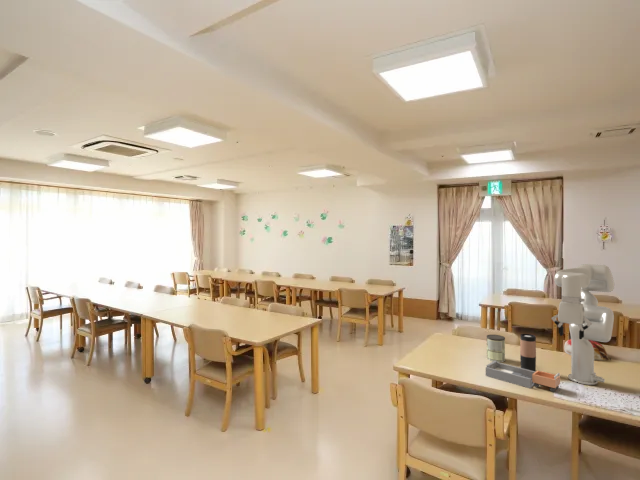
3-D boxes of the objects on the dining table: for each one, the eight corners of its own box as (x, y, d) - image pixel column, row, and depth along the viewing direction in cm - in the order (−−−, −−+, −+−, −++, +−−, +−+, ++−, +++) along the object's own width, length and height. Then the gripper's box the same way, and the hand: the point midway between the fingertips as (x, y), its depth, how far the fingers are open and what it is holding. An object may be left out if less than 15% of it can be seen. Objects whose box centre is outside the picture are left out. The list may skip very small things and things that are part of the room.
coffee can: (484, 356, 224) (484, 334, 224) (501, 356, 223) (501, 334, 223) (490, 361, 214) (490, 338, 214) (508, 362, 213) (508, 339, 213)
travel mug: (517, 369, 202) (517, 334, 202) (526, 367, 204) (526, 333, 204) (529, 374, 195) (529, 337, 195) (539, 372, 197) (539, 336, 197)
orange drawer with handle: (560, 388, 176) (560, 372, 176) (555, 393, 170) (555, 376, 170) (537, 382, 183) (537, 367, 183) (532, 386, 178) (532, 371, 178)
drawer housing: (539, 381, 185) (539, 370, 185) (530, 388, 176) (530, 377, 176) (495, 369, 201) (495, 359, 201) (485, 375, 192) (485, 365, 192)
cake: (613, 364, 209) (613, 347, 209) (563, 356, 224) (563, 340, 224) (610, 354, 228) (610, 338, 228) (564, 347, 242) (564, 332, 242)
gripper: (595, 301, 165) (595, 339, 165) (552, 296, 178) (552, 332, 178) (591, 303, 160) (591, 342, 160) (547, 298, 173) (547, 334, 173)
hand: (571, 336), depth 169 cm, fingers open, 7 cm apart
